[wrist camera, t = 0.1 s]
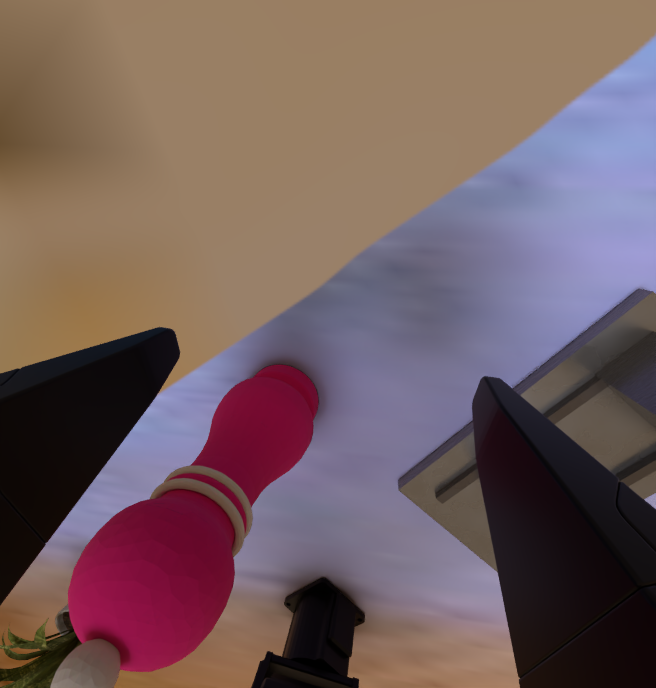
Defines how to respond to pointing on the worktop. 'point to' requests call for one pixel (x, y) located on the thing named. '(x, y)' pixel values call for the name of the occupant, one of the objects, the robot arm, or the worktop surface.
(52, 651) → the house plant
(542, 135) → the worktop surface
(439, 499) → the base
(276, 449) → the pepper mill
